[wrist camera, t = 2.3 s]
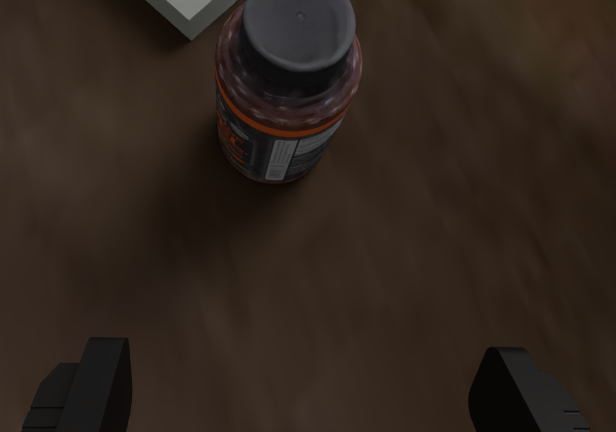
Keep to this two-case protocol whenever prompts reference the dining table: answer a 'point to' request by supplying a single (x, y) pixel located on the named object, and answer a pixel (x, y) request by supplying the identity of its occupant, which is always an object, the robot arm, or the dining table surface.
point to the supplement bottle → (284, 84)
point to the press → (191, 13)
